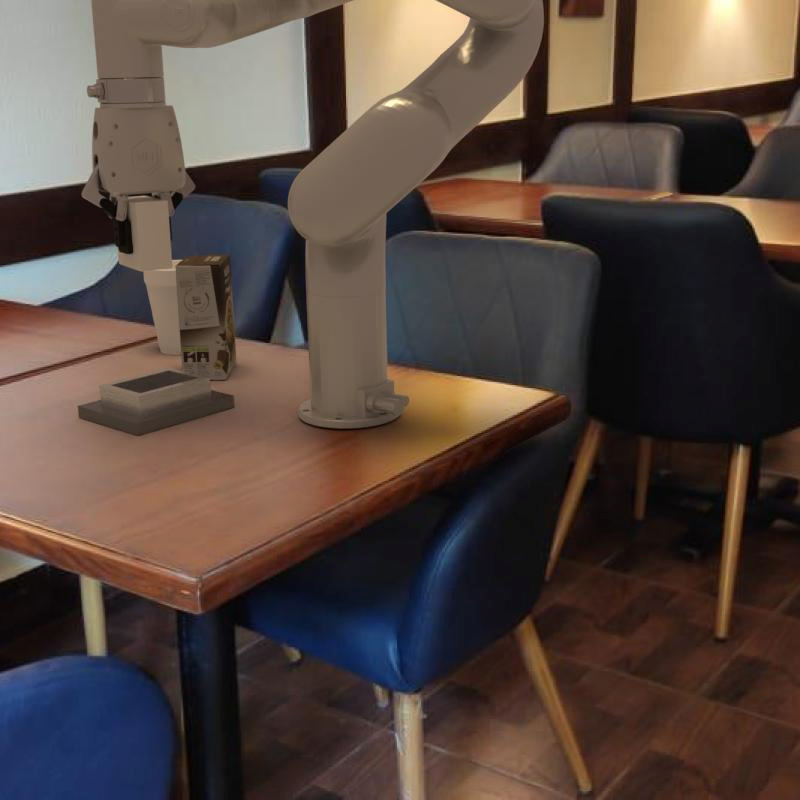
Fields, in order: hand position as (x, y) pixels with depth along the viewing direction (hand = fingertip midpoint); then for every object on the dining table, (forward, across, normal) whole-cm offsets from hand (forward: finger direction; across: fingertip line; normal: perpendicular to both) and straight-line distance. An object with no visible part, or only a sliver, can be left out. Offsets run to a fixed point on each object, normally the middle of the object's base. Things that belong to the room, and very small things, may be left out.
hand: (144, 249), depth 145 cm
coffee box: (+21, +14, +14) cm, 29 cm away
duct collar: (+21, 0, 0) cm, 21 cm away
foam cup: (+21, +16, +29) cm, 39 cm away
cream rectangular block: (+2, 0, 0) cm, 2 cm away
